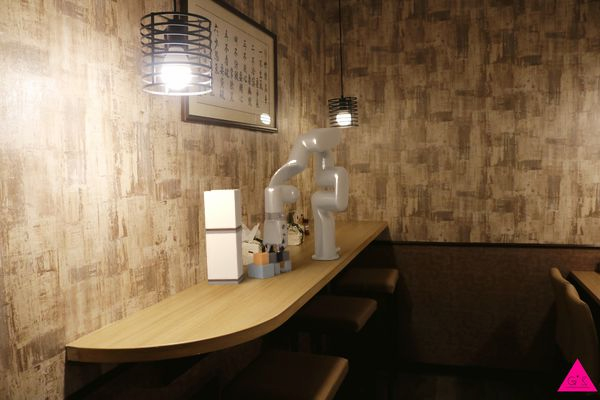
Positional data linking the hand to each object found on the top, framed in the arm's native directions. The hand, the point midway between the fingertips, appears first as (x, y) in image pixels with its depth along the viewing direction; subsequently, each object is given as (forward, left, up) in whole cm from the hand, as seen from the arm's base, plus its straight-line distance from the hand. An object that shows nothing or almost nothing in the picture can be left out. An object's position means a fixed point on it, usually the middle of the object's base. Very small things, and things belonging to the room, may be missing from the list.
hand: (275, 260), depth 210 cm
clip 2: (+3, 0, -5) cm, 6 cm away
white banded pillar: (+22, -6, -5) cm, 24 cm away
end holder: (+8, 0, -5) cm, 10 cm away
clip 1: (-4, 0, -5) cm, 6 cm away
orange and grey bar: (+2, 0, 0) cm, 2 cm away
